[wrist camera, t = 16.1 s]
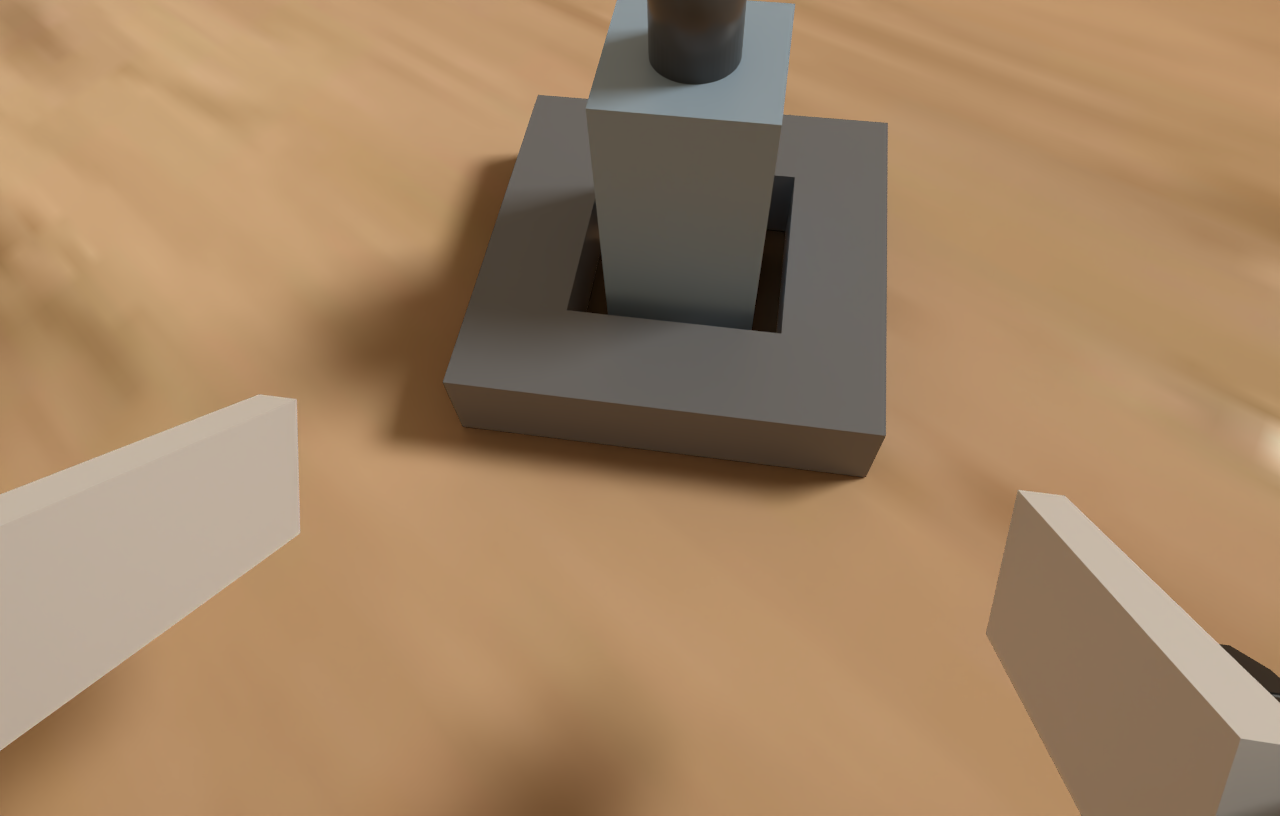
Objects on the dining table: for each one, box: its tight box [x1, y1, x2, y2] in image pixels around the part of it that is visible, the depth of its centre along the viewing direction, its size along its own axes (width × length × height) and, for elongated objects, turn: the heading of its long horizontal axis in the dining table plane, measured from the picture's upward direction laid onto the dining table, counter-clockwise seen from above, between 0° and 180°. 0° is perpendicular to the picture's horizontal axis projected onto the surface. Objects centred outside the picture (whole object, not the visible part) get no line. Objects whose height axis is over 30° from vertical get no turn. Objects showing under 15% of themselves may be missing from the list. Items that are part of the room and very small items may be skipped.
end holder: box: [443, 95, 888, 477], centre depth 26 cm, size 12×12×2 cm
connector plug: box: [586, 0, 795, 330], centre depth 22 cm, size 4×4×12 cm
